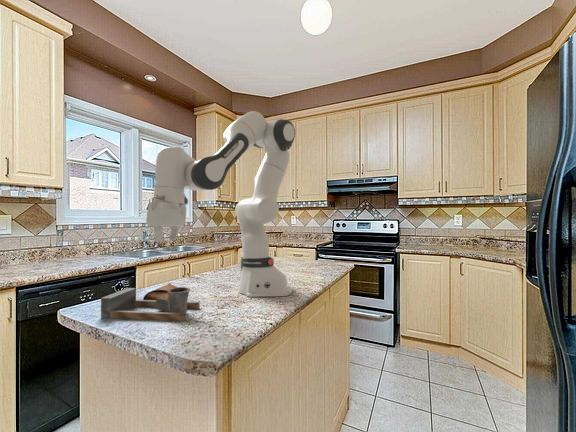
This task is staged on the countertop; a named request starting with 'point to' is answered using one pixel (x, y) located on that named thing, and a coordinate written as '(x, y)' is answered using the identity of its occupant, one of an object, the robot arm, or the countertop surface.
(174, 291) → the pipe
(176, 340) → the countertop surface
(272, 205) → the robot arm
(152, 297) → the sunglasses case
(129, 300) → the channel
